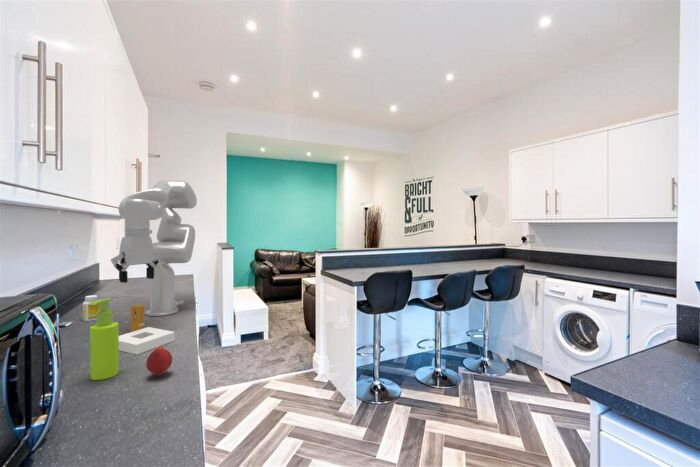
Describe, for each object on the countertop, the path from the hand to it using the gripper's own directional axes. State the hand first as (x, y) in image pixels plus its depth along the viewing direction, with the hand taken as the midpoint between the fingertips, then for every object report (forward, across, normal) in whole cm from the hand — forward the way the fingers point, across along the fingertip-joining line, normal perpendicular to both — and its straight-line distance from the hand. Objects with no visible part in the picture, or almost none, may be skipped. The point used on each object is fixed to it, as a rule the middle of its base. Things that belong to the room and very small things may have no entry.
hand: (137, 280), depth 116 cm
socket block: (+19, +7, +13) cm, 24 cm away
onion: (+20, +20, +38) cm, 47 cm away
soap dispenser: (+20, +26, +25) cm, 41 cm away
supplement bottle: (+19, -3, -33) cm, 39 cm away
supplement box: (+19, 0, 0) cm, 19 cm away
